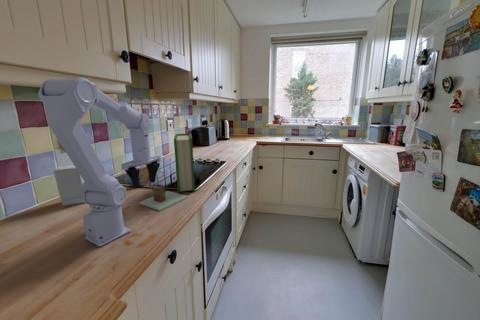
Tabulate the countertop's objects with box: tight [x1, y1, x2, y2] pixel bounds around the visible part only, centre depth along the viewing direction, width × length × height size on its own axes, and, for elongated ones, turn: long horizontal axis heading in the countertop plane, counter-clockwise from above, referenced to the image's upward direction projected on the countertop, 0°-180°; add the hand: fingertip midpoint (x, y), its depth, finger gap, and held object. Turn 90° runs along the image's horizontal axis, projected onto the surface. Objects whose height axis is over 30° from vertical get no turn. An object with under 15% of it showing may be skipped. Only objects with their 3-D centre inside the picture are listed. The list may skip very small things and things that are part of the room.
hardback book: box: [173, 133, 196, 194], centre depth 106 cm, size 18×7×24 cm, turn 13°
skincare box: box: [53, 164, 87, 207], centre depth 90 cm, size 8×6×15 cm
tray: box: [139, 190, 189, 212], centre depth 92 cm, size 14×12×1 cm
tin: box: [138, 165, 151, 187], centre depth 114 cm, size 15×3×8 cm, turn 168°
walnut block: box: [152, 183, 166, 202], centre depth 90 cm, size 2×4×6 cm, turn 58°
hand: (144, 184), depth 83 cm, fingers open, 6 cm apart
